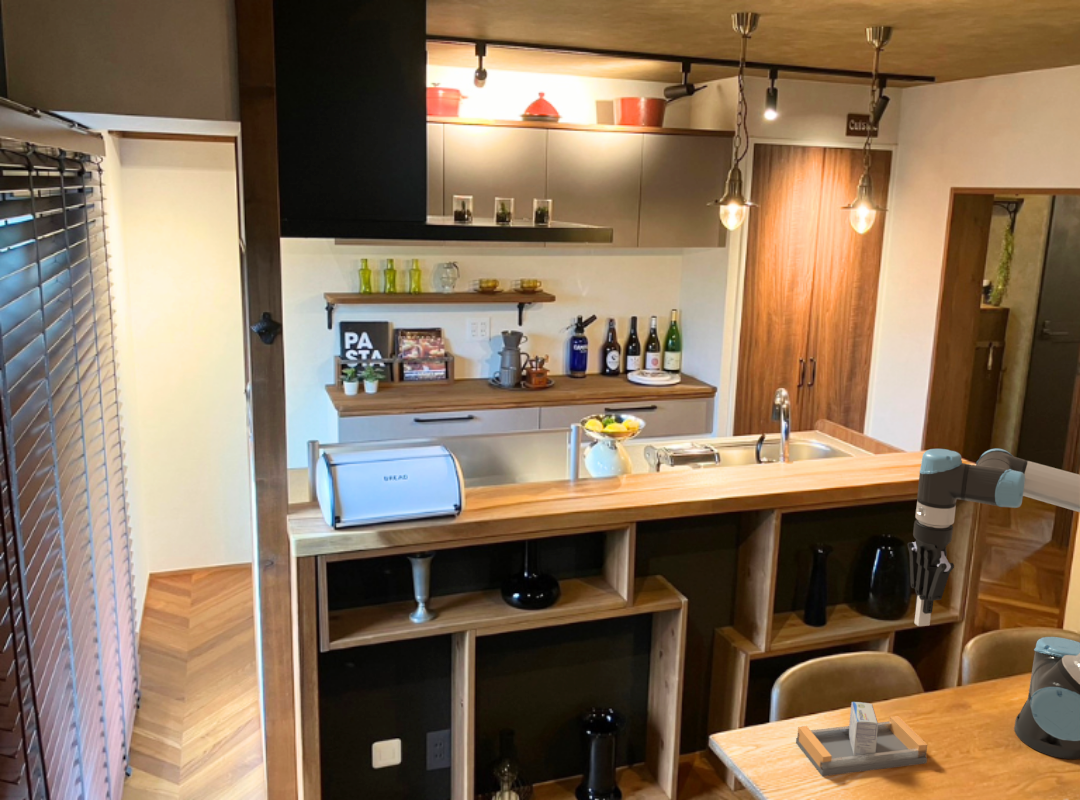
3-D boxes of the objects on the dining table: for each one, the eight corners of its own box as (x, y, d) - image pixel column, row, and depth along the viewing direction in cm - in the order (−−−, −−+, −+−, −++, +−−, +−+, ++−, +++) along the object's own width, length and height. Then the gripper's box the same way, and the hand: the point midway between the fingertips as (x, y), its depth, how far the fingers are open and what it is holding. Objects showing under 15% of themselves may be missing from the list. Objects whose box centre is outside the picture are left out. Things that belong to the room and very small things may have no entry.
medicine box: (875, 760, 187) (879, 723, 185) (852, 757, 188) (856, 721, 186) (869, 738, 195) (872, 703, 193) (847, 736, 196) (851, 700, 194)
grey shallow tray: (895, 731, 200) (896, 714, 199) (926, 763, 189) (928, 745, 188) (795, 742, 195) (797, 725, 194) (822, 776, 184) (823, 758, 183)
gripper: (900, 512, 194) (889, 612, 199) (937, 534, 181) (924, 640, 186) (931, 510, 195) (919, 609, 200) (969, 532, 183) (956, 637, 188)
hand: (921, 624), depth 193 cm, fingers closed
